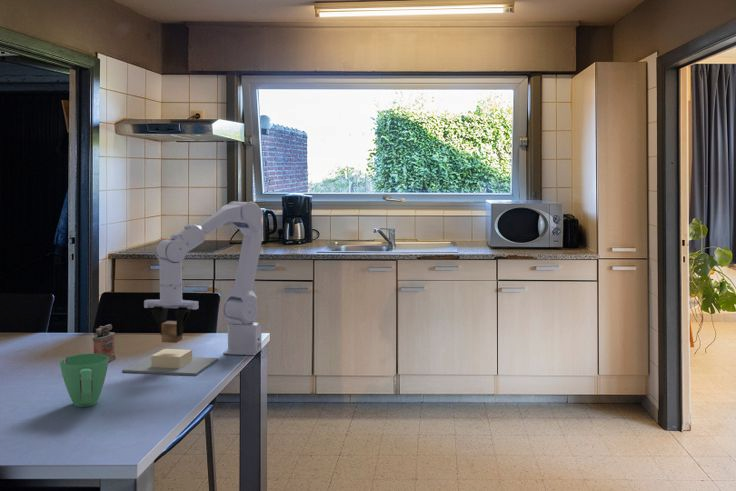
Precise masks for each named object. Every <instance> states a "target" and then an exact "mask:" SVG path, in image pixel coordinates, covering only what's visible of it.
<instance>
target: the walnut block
mask: <svg viewBox="0 0 736 491" xmlns="http://www.w3.org/2000/svg"><path fill="white" fill-rule="evenodd" d="M161 325H162V335H161V343H171V344H172V343H173V344H177V343H179V342H181V341H182V340H183V335H181V336H177V322H176V320H167V322H164V323H162V324H161Z"/></svg>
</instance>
